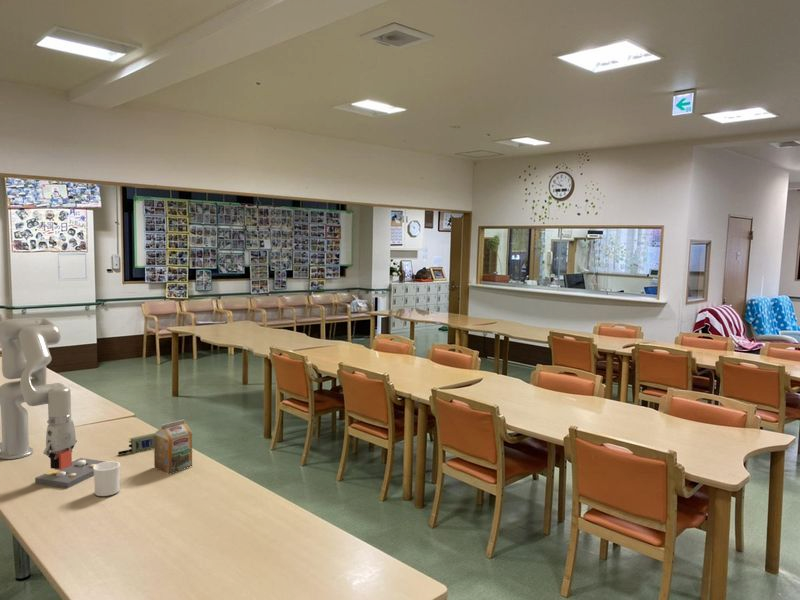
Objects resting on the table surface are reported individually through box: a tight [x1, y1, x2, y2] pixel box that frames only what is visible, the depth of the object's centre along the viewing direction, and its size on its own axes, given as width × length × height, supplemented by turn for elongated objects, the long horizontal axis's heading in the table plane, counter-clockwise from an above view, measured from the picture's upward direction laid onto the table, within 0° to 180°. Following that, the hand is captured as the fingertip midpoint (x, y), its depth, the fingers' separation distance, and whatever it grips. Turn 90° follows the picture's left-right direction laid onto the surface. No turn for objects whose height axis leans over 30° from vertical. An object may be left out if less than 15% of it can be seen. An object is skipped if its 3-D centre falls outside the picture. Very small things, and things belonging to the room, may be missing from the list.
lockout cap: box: [49, 449, 73, 470], centre depth 222 cm, size 5×5×6 cm
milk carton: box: [153, 419, 193, 475], centre depth 237 cm, size 11×11×19 cm
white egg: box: [77, 460, 86, 467], centre depth 232 cm, size 3×3×2 cm
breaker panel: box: [34, 457, 106, 489], centre depth 227 cm, size 15×22×3 cm
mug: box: [93, 460, 121, 499], centre depth 212 cm, size 11×9×10 cm
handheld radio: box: [117, 432, 155, 456], centre depth 258 cm, size 7×3×25 cm
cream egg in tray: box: [56, 471, 66, 476], centre depth 223 cm, size 3×3×2 cm
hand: (61, 465), depth 222 cm, fingers closed on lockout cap, 4 cm apart
